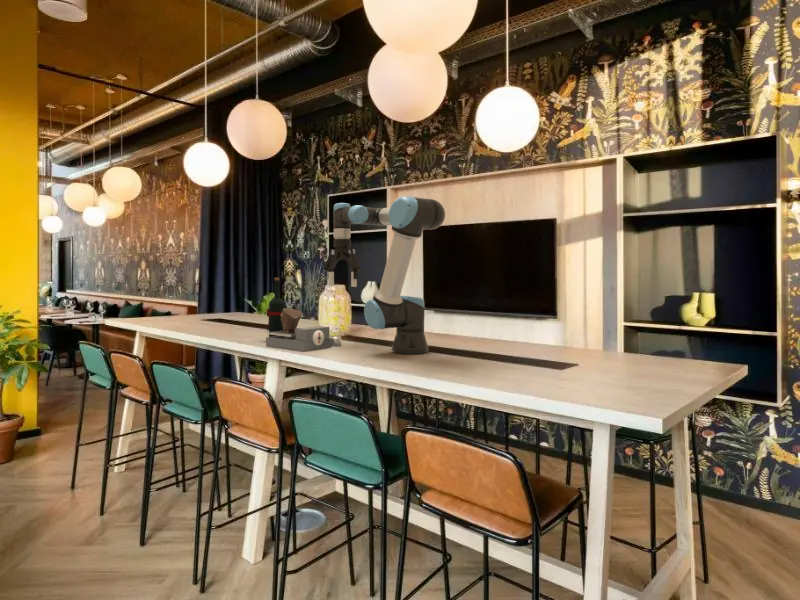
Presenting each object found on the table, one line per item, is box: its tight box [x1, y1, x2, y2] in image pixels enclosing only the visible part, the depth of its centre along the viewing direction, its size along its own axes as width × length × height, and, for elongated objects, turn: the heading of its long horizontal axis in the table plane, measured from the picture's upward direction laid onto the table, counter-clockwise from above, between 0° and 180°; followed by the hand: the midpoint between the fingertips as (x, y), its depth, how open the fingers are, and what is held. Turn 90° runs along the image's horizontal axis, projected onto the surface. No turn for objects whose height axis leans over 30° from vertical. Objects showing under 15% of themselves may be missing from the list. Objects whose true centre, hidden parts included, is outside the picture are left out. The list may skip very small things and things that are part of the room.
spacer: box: [330, 335, 342, 347], centre depth 242 cm, size 5×5×4 cm
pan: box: [268, 330, 296, 337], centre depth 240 cm, size 14×14×2 cm
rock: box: [281, 307, 303, 332], centre depth 239 cm, size 12×10×10 cm
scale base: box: [265, 325, 332, 352], centre depth 237 cm, size 25×16×9 cm, turn 53°
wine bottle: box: [266, 277, 286, 337], centre depth 253 cm, size 8×10×30 cm
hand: (342, 286), depth 241 cm, fingers open, 13 cm apart
